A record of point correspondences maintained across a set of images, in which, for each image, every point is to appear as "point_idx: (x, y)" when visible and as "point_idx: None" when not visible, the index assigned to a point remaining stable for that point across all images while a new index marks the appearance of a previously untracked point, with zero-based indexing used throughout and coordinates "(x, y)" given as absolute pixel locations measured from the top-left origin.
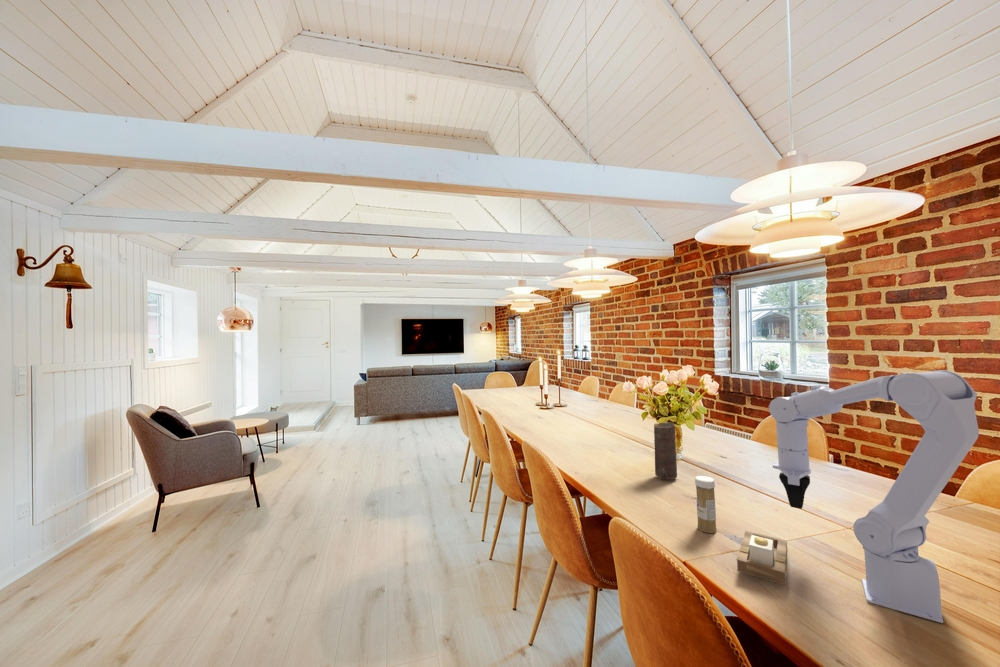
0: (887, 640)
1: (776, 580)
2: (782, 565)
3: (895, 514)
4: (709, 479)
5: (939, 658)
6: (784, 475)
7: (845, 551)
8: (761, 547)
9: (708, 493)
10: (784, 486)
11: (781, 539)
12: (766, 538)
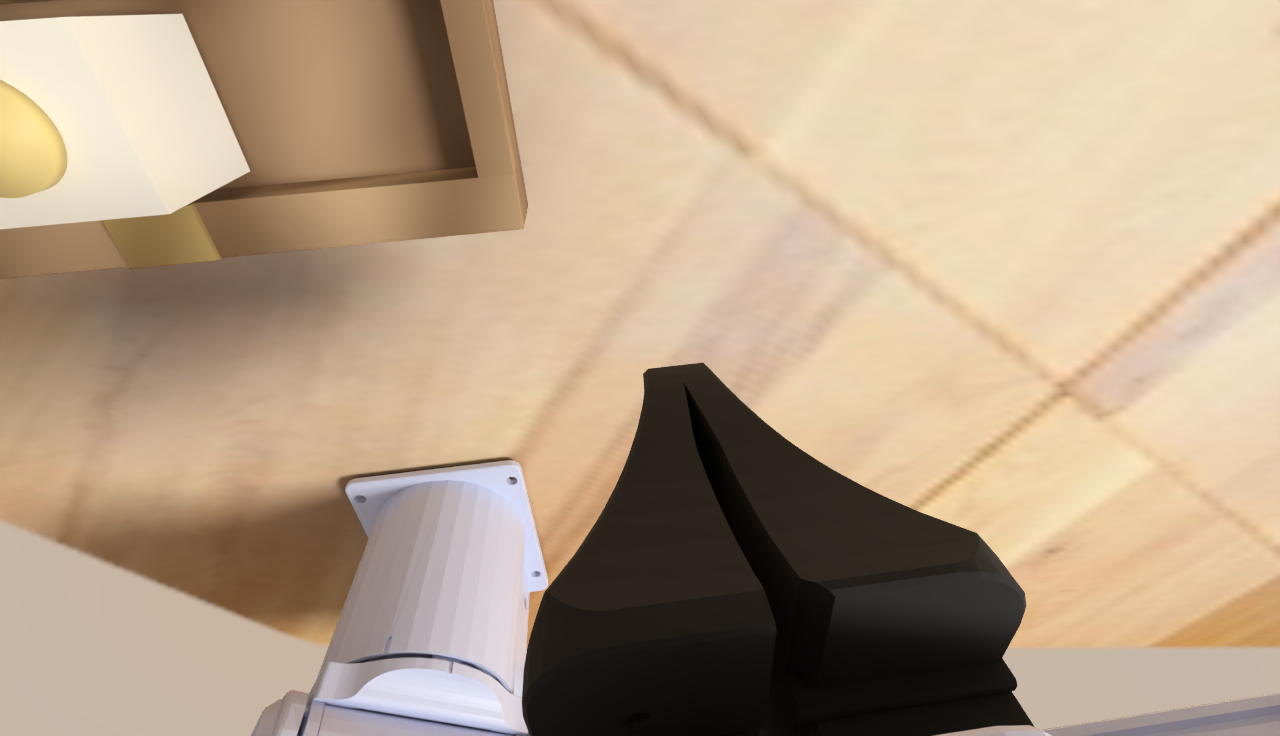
0: (138, 523)
1: None
2: (85, 256)
3: None
4: None
5: (191, 596)
6: (719, 692)
7: (780, 397)
8: None
9: None
10: (596, 525)
11: (510, 197)
12: (143, 161)
